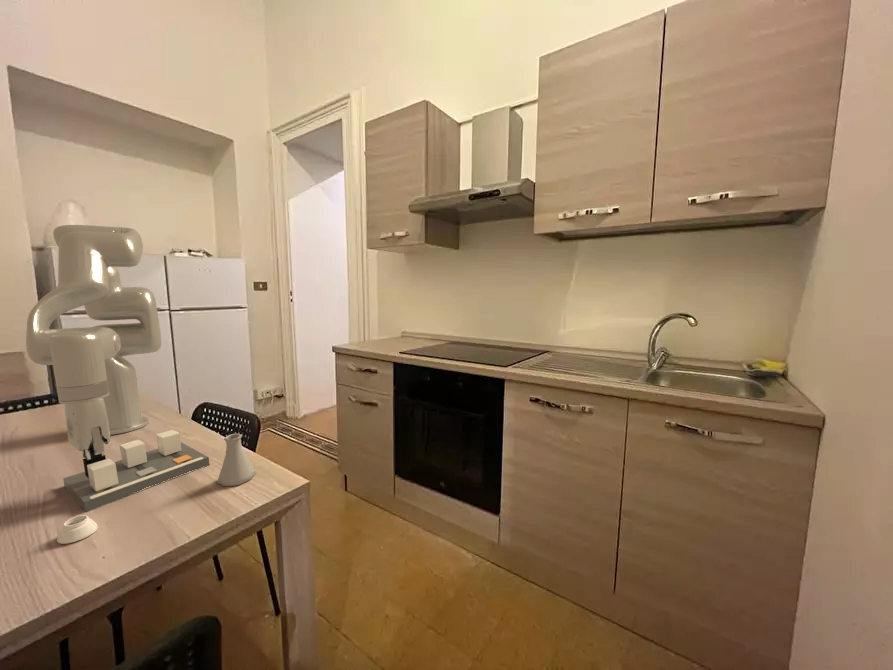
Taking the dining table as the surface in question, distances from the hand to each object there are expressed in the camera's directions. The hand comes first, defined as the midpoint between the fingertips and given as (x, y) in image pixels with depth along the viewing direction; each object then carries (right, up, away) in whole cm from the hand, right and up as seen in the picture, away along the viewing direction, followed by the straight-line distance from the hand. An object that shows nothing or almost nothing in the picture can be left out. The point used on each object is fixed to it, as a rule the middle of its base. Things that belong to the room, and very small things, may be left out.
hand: (96, 474), depth 79 cm
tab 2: (+2, 0, +7) cm, 7 cm away
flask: (+28, -3, +4) cm, 28 cm away
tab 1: (+4, -2, -2) cm, 5 cm away
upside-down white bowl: (+10, -6, -14) cm, 18 cm away
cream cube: (+6, +1, +13) cm, 14 cm away
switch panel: (+5, -2, +6) cm, 8 cm away
